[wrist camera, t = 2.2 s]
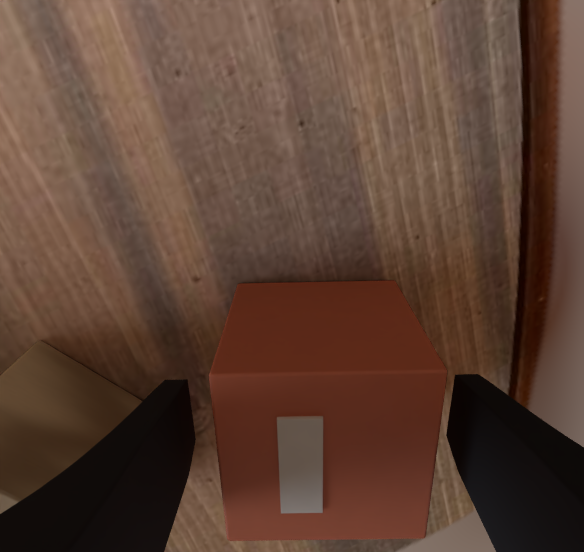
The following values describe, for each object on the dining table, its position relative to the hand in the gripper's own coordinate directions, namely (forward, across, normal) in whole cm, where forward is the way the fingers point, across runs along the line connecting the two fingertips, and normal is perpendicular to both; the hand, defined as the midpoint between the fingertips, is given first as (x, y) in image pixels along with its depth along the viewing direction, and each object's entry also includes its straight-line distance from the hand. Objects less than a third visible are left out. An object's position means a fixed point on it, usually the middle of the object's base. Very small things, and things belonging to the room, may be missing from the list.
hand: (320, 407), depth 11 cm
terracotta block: (+3, 0, 0) cm, 3 cm away
